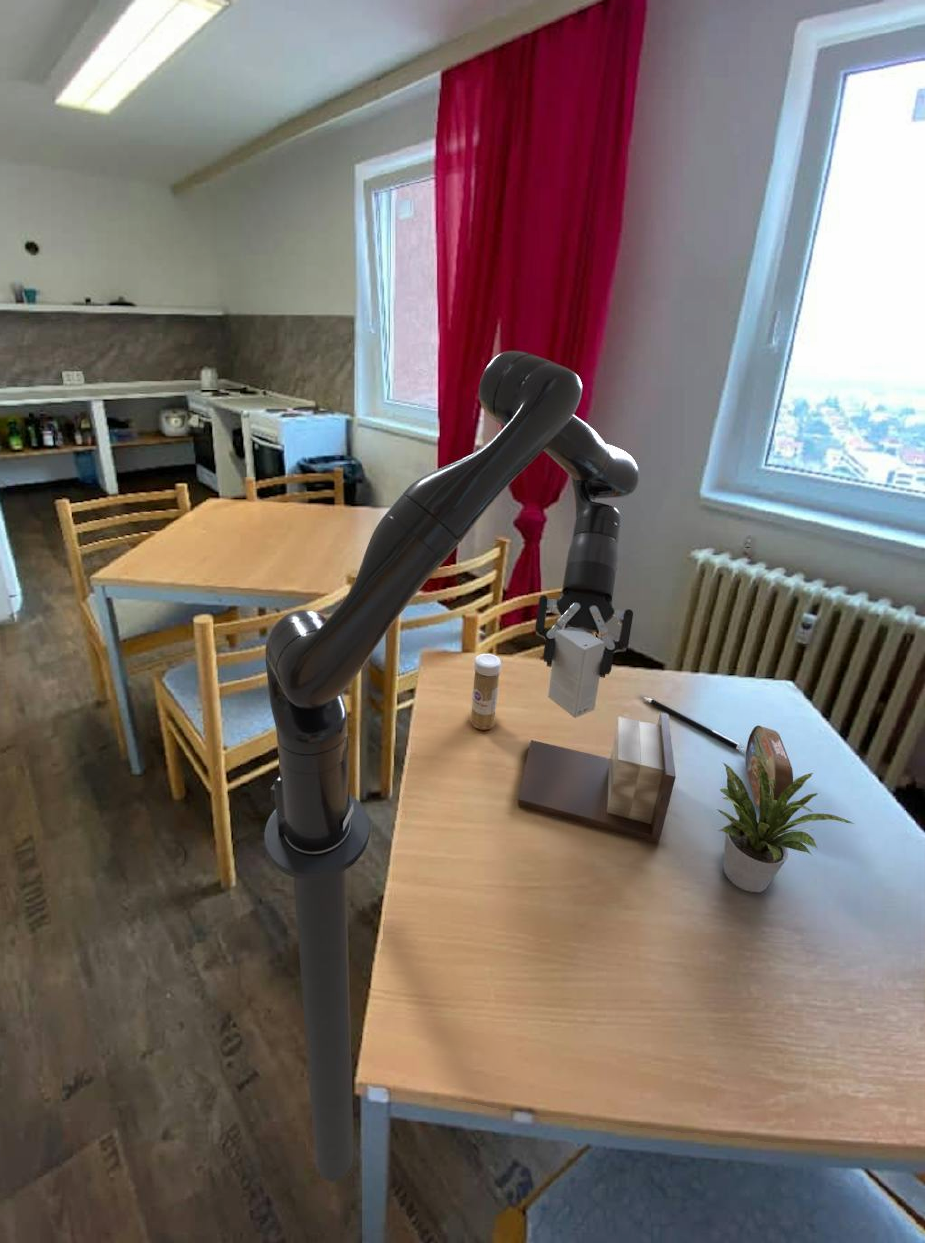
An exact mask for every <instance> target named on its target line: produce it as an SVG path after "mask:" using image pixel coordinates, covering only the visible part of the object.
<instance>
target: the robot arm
mask: <svg viewBox="0 0 925 1243" xmlns="http://www.w3.org/2000/svg"><path fill="white" fill-rule="evenodd" d="M582 394H583V384H582V381H581V378H580V377H579V375H578V374H577V373H576V372H574V371H573V370H571V369H570V368H568V367H566V366H564V365H561V364H558V363H556V362H554V361H551V360H548V359H546V358H543V357H541V356H539V355H536V354H533V353H530V352H528V351H523V350H514V349H513V350H507V351H503V352H501V353H499V354H498V355H497V356H495V357H494V358H493V359H492V360H491V361H490V362H489V363H488V365H487V366H486V368H485V369H484V371H483V373H482V375H481V378H480V381H479V385H478V399H479V402H480V406H481V408H482V409H483V411H484V413H485V414H486V415H487V416H488V417H489V418H491V419H492V420H493V421H494V422H496V423H498V424H499V425H501V426H503V427H502V428H501V429H500V431H499V432H497V433H496V435H494V437H493V438H492V439H491V440H490V441H488V442H487V443H486V444H485V445H483V446H482V447H481V448H479V449H477V450H476V451H475V452H473V453H472V454H470V455H467V456H466V457H463V458H461V459H459V460H457V461H454V462H452V463H450V464H447V465H445V466H442V467H440V468H438V469H436V470H433V471H432V472H430V473H427V474H426V475H424V476H422V477H420V478H419V479H417V480H415V481H414V482H412V483H411V484H410V485H409V486H408V487H407V488H406V490H404V492H403V493H402V494H401V495H400V496H399V497H398V499H397V500H396V501H395V502H394V503H393V505H391V507H390V508H389V509H388V511H387V512H386V513H385V514H384V515H383V517H382V518H381V519H380V521H378V524H377V525H376V527H375V529H374V530H373V532H372V535H371V537H370V539H369V542H368V544H367V547H366V550H365V552H364V554H363V558H362V560H361V564H360V567H359V570H358V572H357V575H356V578H355V580H354V582H353V584H352V586H351V587H350V590H349V591H348V593H347V594H346V596H345V597H344V599H343V600H342V602H341V603H340V604H339V606H337V608H336V609H335V610H334V611H333V613H332V614H331V615H330V616H329V617H328V618H327V617H326V616H325V615H323V614H322V613H319V612H317V611H313V610H310V609H309V610H308V609H301V610H300V609H299V610H295V611H292V612H290V613H288V614H286V615H284V616H283V617H281V618H280V619H279V620H278V621H277V622H276V623H275V625H273V627H272V628H271V630H270V631H269V634H268V637H267V640H266V642H265V651H264V652H265V656H264V657H265V667H266V676H267V686H268V695H269V703H270V709H271V713H272V718H273V722H274V726H275V734H276V742H277V743H276V744H277V745H276V746H277V756H278V769H279V775H278V777H277V778H276V779H275V780H274V783H273V785H272V786H271V787H270V788H269V790H270V791H269V792H270V802H271V803H275V809H276V812H277V823H278V835H279V836H281V837H284V838H285V840H286V842H287V844H288V845H289V847H290V848H291V849H293V850H294V851H296V852H297V853H300V854H303V855H307V856H320V855H324V854H328V853H330V852H332V851H334V850H336V849H337V848H339V847H340V846H341V845H342V844H343V843H344V842H345V841H346V839H347V837H348V835H349V833H350V829H351V819H350V817H351V815H352V813H353V811H354V808H353V804H352V806H351V808H350V795H351V793H350V761H349V760H350V759H349V758H350V756H349V718H348V710H347V706H346V703H345V701H344V698H343V693H344V692H345V691H346V690H347V689H348V688H349V687H350V686H351V684H353V682H354V681H355V679H356V678H357V676H358V675H359V673H360V672H361V671H362V669H363V667H364V666H365V664H366V663H367V662H368V661H369V658H370V657H371V656H372V654H373V653H374V651H375V650H376V648H377V647H378V645H379V644H380V642H382V639H383V638H384V637H385V635H386V634H387V633H388V632H389V630H390V628H391V627H392V625H393V624H394V623H395V622H396V621H397V619H398V618H399V616H400V615H401V614H402V613H403V611H404V610H405V609H406V608H407V607H408V606H409V604H410V603H411V602H412V601H413V599H414V598H415V597H416V595H417V594H418V593H419V591H420V590H421V589H422V588H423V587H424V585H425V584H426V583H427V581H428V580H429V579H430V578H432V576H433V575H434V573H436V571H437V570H438V569H439V568H440V567H441V566H442V565H443V564H444V562H445V561H446V560H447V559H448V558H449V557H450V555H451V554H452V553H453V552H454V551H455V550H456V548H458V546H459V545H460V543H462V541H463V540H464V538H465V537H466V536H467V535H468V534H469V532H470V531H471V529H472V528H473V527H474V526H475V524H476V523H477V522H478V521H479V519H481V517H482V516H483V515H484V513H485V512H486V511H487V510H488V509H489V508H490V506H491V505H492V504H493V503H494V502H495V501H496V500H497V498H498V497H499V496H500V495H502V493H503V492H504V491H505V489H507V487H508V486H509V485H510V484H512V482H513V481H514V480H515V479H516V478H517V477H518V476H519V475H520V474H521V473H522V472H523V471H524V470H525V469H526V468H527V467H529V465H530V464H531V463H532V462H533V461H535V459H537V457H538V456H539V455H540V454H541V453H542V452H545V453H546V454H547V456H549V457H550V458H551V459H552V460H553V461H554V462H555V463H557V465H558V466H559V467H560V468H562V469H563V470H564V471H565V472H566V473H567V474H568V475H569V476H570V480H571V488H572V491H573V492H572V493H573V497H574V510H575V511H574V512H575V517H574V518H575V519H574V525H573V531H572V537H571V542H570V545H569V548H568V552H567V557H566V561H565V564H566V565H565V570H564V576H563V582H562V587H561V588H562V589H561V593H560V596H559V597H558V598H557V599H556V598H549V597H547V595H544V594H543V595H540V596H539V599H538V606H537V614H536V620H535V621H536V622H535V626H534V627H535V628H534V630H535V635H536V636H537V637H540V638H542V639H544V641H545V642H544V648H543V653H542V659H543V663H546V667H549V668H552V662H553V654H554V647H555V638H556V631H558V630H562V629H565V628H568V627H580V628H582V629H583V630H585V631H587V632H588V633H590V634H593V633H595V634H596V636H597V638H598V639H600V640H602V641H604V642H605V646H604V652H603V659H602V665H601V671H600V678H602V679H604V678H606V676H607V675H608V676H609V675H610V674H611V671H612V668H613V659H614V654H615V653H619V652H620V653H624V652H626V651H627V650H628V647H629V644H630V638H631V631H632V625H633V617H634V611H633V610H632V609H626V610H623V609H618V608H615V607H614V605H613V599H614V598H613V597H614V590H615V582H616V575H617V569H618V567H617V566H618V558H619V548H618V547H619V537H620V532H621V531H620V530H621V525H622V524H621V523H622V516H621V515H622V514H621V513H620V511H619V509H618V508H616V507H614V506H613V505H611V504H610V505H609V504H606V503H603V502H598V501H595V500H597V499H598V500H599V499H618V498H625V497H627V496H629V495H631V494H632V493H634V492H635V491H636V489H637V487H638V486H639V482H640V470H639V466H638V464H637V462H636V460H635V459H634V458H633V457H632V456H631V455H630V454H629V453H628V452H626V451H624V450H623V449H620V448H619V447H616V446H614V445H611V444H610V443H609V444H608V443H606V442H605V441H604V440H603V438H602V437H601V436H600V435H599V434H598V432H597V431H596V430H595V429H593V427H591V426H590V425H589V424H588V423H586V422H585V421H584V420H582V419H581V418H580V417H578V416H577V415H575V413H576V412H577V409H578V407H579V404H580V402H581V399H582ZM554 608H556V609H557V611H558V613H559V614H560V616H561V617H560V618H558V619H557V621H556V622H555V623H554V625H553V626H552V627H551V628H550V629H548V628H546V626H545V625H546V618H547V614H550V613H552V611H553V609H554ZM613 617H614V618H615V619H616V623H617V625H619V626H620V633H619V638H618V640H617V641H613V638H612V637H611V634H610V630H609V628H608V626H607V623H608V622H609V621H610V620H611V619H612V618H613Z"/></svg>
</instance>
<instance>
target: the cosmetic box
mask: <svg viewBox="0 0 925 1243" xmlns="http://www.w3.org/2000/svg"><path fill="white" fill-rule="evenodd" d="M604 646H605V642H604V641H602V640H600V639H599V638H598V636H597V637H596V635H593V633H588V632H587V631H585V630H583V629H582V628H580V627H568V628H565V629H562V630H558V631H556V638H555V647H554V654H553V661H552V667H551V671H550V679H549V685H548V695H547V697H548V699H549V700H551V701H553V702H554V703H555V704H556V705H557V706H559V707H560V708H561V709H563V710H564V711H565V712H566V713H568V714H569V715H570V716H571V717H572V718H574V719H576V718H579V717H581V716H582V715H585V714H587V713H590V712H593V711H594V710H595V708H596V701H597V695H598V689H599V683H600V678H601V677H600V671H601V665H602V659H603V652H604V650H605V649H604Z"/></svg>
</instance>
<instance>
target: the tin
mask: <svg viewBox="0 0 925 1243" xmlns="http://www.w3.org/2000/svg"><path fill="white" fill-rule="evenodd" d="M745 750H746V752H745V757H744V758H745V760H744V762H745V770H746V774H747V778H748V780H749V784H750V787H751V791H752V795H753V799H754V802H755V805H756V806H757V808H759V806H760V782H759V780H758V778H757V777H756V775H755V774H754V772H753V771H752V769H753V770H754V771H755V772H756V774H757V775H758V777H759V778H760V775H759V771H758V768H757V764H756V761H755V758H754V754H753V751H754V753H755V754H756V755H757V756H758V758H759V760H760V762H761V764H762V765H763V767H764V768H765V770H766V772H767V774H768V778H769V784H770V786H771V788H772V790H773V793H774V800H777V801H778V799H779V796H780V794H781V793H782V792H783V791H784V790H785V789H786V788H787V787H788V786H789V785H790V784H791V783H793V782H794V771H793V767H792V764H791V761H790V759H789V758H790V757H789V756H788V753H787V751H786V748H785V746H784V742H783V740H782V737H781V735H780V733H778V731H776V730H774V729H771V728H768V727H764V726H762V725H756V726H755V727H753V729H752V730H751V732H750V734H749V737H748V739H747V744H746V749H745ZM750 767H751V768H752V769H751V768H750ZM771 788H770V793H771ZM787 804H788V802H787V803H786V804H785V806H786V805H787Z"/></svg>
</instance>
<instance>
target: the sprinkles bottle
mask: <svg viewBox="0 0 925 1243" xmlns="http://www.w3.org/2000/svg"><path fill="white" fill-rule="evenodd" d="M473 668H474V677H473V689H472V697H471V713H470V719H469V721H470V723H471V725H472V726H473V727H474V728H476V729H477V730H483V731H485V730H489V729H491V728H494V726H495V724H496V711H497V704H498V703H497V702H498V694H499V679H500V673H501V670H502V660H501V659H500V657H499V656H497V655H495V654H492V653H481V654H478V655H477V656H476V657H475V659H474V666H473Z"/></svg>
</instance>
